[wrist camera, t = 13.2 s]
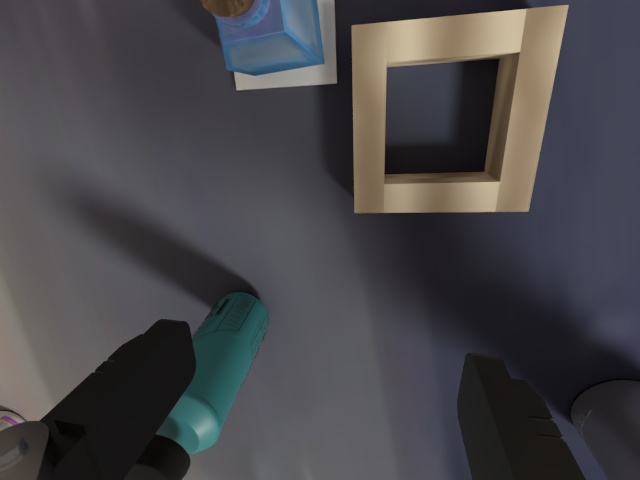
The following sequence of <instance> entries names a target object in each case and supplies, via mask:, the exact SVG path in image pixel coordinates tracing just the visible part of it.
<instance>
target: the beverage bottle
mask: <svg viewBox="0 0 640 480" xmlns="http://www.w3.org/2000/svg"><path fill="white" fill-rule="evenodd" d="M215 306H216V307H215ZM215 306H214V307H213V308H212V310H213V311H212V310H211V311H212V312H210V313H211V314H210V313H209V314H210V315H209V314H208V315H209V316H207V317H206V318H207V319H206V318H205V322H203V324H201V327H200V328H198V330H197V333H196V332H194V333H196V334H194V336H193V338H192V342H193V347H194V352H195V357H196V371H195V375H194V377H193V380H192V382H191V383H190V385H189V386H188V388H187V389H186V390H185V392H184V393H183V395H182V396H181V398H180V399H179V401H178V402H177V403H176V405H175V406H174V408H173V409H172V411H171V412H170V413H169V415H168V416H167V418H166V419H165V421H164V422H163V424H162V425H161V426H160V428H159V429H158V431H157V432H156V434H155V435H154V436H153V438H152V439H151V441H150V442H149V444H148V445H147V447H146V448H145V449H144V451H143V452H142V454H141V455H140V457H139V458H138V459H137V461H136V462H135V464H134V465H133V467H132V468H131V470H130V471H129V472H128V474H127V475H126V477H125V478H124V480H182V478H183V477H184V476H185V474H186V473H187V471H188V469H189V467H190V457H189V454H193V453H196V452H200V451H202V450H205V449H207V448H209V447H210V446H212V445H213V444H214V443H215V442H216V441H217V439H218V437H219V435H220V432H221V428H222V426H223V424H224V422H225V420H226V417H227V415H228V413H229V411H230V408H231V406H232V404H233V402H234V400H235V397H236V395H237V393H238V391H239V389H240V387H241V386H242V385H241V384H242V382H243V380H244V378H245V376H246V374H248V373H247V372H248V370H249V367H250V365H251V364H252V361H253V358H254V356H255V354H256V351H257V349H259V348H258V347H259V345H260V342H261V340H262V341H263V339H264V335H265V331H266V330H267V326H268V320H269V318H268V313H267V310H266V308H265V306H264V305H263V303H262V302H261V301H260V300H259V299H257V298H256V297H254V296H252V295H250V294H247V293H242V292H235V293H231V294H228V295H227V296H225V297H224V298H222V299H221V300H220V299H219V303H218V304H216V305H215ZM268 327H269V326H268ZM262 338H263V339H262ZM260 346H261V345H260ZM257 353H258V352H257ZM256 355H257V354H256ZM255 357H256V356H255ZM254 360H255V359H254ZM250 369H251V368H250Z"/></svg>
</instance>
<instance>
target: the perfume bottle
mask: <svg viewBox="0 0 640 480" xmlns="http://www.w3.org/2000/svg"><path fill="white" fill-rule="evenodd" d="M199 1H200V2H201V4H202V5H203V7H205V8H206V9H207V10H208V11H209V12H211V13H212V15H213V16H215V19H216V24H217V28H218V33H219V38H220V42H221V47H222V51H223V56H224V60H225V65H226V70H229V71H234V72H238V73H243V74H248V75H253V76H258V75H264V74H269V73H275V72H281V71H286V70H292V69H298V68H303V67H309V66H315V65H320V64H325V63H324V54H323V46H322V38H321V29H320V21H319V13H318V4H317V0H199Z"/></svg>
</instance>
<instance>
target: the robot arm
mask: <svg viewBox="0 0 640 480" xmlns="http://www.w3.org/2000/svg"><path fill="white" fill-rule="evenodd" d="M195 371H196V357H195V352H194V347H193V342H192V337H191V332H190V327H189V325H188V323H187V322H185V321H176V320H167V319H161V320H158V321H157V322H156V323H155V324H154V325H153V326H151V327H150V328H149V329H148V330H147V331H146V332H145V333H144V334H140V335H139V336H137V337H135V338H134V339H132V340H130V341H128V342H127V343H125V344H123V345H122V346H121V347H120V348H118V349H117V350H116V351H115V352H114V353H113V354H112V355H111V356H110V357H109V358H108V360H107V361H104V362H103V363H102V364H101V365H100V366H99V367H98V368H97V369H96V371H95V373H91V374H90V375H89V376H88V377H87V378H86V379H85V380H84V381H83V382H81V383H80V384H79V385H78V386H77V387H76V388H75V389H74V390H73V391H72V392H71V393H70V394H68V395H67V396H66V397H65V398H64V399H63V400H62V401H61V402H60V403H59V404H58V405H56V406H55V407H54V408H53V409H52V410H51V411H50V412H49V413H48V414H47V415H46V416H44V417H43V418H42V419H41V420H40V421H27V422H22V423H19V424H16V425H13V426H10V427H8V428H6V429H4V430H2V431H0V480H124V478H125V477H126V475H127V474H128V472H129V471H130V470H131V468H132V467H133V465H134V464H135V462H136V461H137V459H138V458H139V457H140V455H141V454H142V452H143V451H144V449H145V448H146V447H147V445H148V444H149V442H150V441H151V439H152V438H153V436H154V435H155V434H156V432H157V431H158V429H159V428H160V426H161V425H162V424H163V422H164V421H165V419H166V418H167V416H168V415H169V413H170V412H171V411H172V409H173V408H174V406H175V405H176V403H177V402H178V401H179V399H180V398H181V396H182V395H183V393H184V392H185V390H186V389H187V388H188V386H189V385H190V383H191V382H192V380H193V377H194V375H195ZM457 410H458V419H459V424H460V428H461V433H462V437H463V441H464V446H465V450H466V454H467V458H468V463H469V467H470V471H471V475H472V480H586V479H585V477H584V475H583V473H582V472H581V470H580V468H579V466H578V464H577V462H576V460H575V459H574V457H573V455H572V453H571V451H570V449H569V447H568V445H567V444H566V442H564V441H563V436H562V434H561V432H560V430H559V429H558V427H557V425H556V423H554V422H553V417H552V416H551V414H550V412H549V410H548V408H547V406H546V404H545V402H544V401H543V399H542V398H541V397H540V396H539V395H538V394H537V393H536V392H535V391H534V390H533V389H532V388H531V387H530V386H529V385H528V384H527V383H526V382H525V381H524V380H519V379H511V378H510V375H509V373H508V371H507V369H506V367H505V364H504V362H503V360H502V359H501V357H500V356H495V355H485V354H476V353H467V355H466V357H465V362H464V367H463V372H462V377H461V382H460V387H459V393H458V400H457ZM570 414H571V420H572V422H573V424H574V425H575V427H576V429H577V430H578V432H579V434H580V435H581V437H582V438H583V440H584V441H585V443H586V444H587V446H588V448H589V449H590V451H591V452H592V454H593V456H594V458H595V459H596V461H597V462H598V464H599V466H600V467H601V469H602V470H603V472H604V473H605V475H606V477H607V478H608V480H640V382H638V381H633V380H615V381H609V382H605V383H601V384H599V385H596V386H593V387H592V388H590V389H588V390H586V391H585V392H583V393H582V394H581V395H580V396H579V397H578V398H577V399H576V400H575V401H574V403H573V405H572V407H571V413H570Z"/></svg>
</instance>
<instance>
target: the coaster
mask: <svg viewBox="0 0 640 480" xmlns="http://www.w3.org/2000/svg"><path fill="white" fill-rule="evenodd" d="M317 4H318V13H319V21H320V29H321V38H322V46H323V54H324V63H325V64H320V65H315V66H309V67H303V68H298V69H292V70H286V71H281V72H275V73H269V74H264V75H258V76H253V75H248V74H243V73H238V72H234V76H235V83H236V90H253V89H268V88H282V87H297V86H312V85H326V84H337V53H336V21H335V0H317Z"/></svg>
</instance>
